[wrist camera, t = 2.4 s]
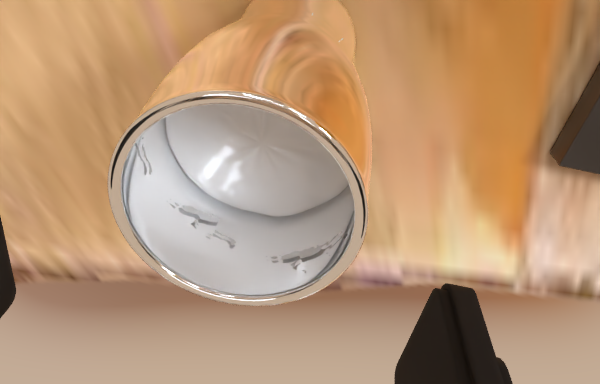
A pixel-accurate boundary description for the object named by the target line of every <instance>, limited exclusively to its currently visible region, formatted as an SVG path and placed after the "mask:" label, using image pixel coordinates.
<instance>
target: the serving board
mask: <svg viewBox="0 0 600 384" xmlns="http://www.w3.org/2000/svg"><path fill="white" fill-rule="evenodd" d="M550 154H551V155H552V156H553V158H554V159H555V160H556V162H557V163H558V165H559V166H563V167H568V168H573V169H577V170H582V171H587V172H592V173H596V174H600V64H599V66H598V68H597V70H596V72H595V73H594V75H593V77H592V79H591V80H590V82H589V84H588V86H587V88H586V89H585V91H584V93H583V95H582V96H581V98H580V100H579V102H578V104H577V105H576V107H575V109H574V111H573V112H572V114H571V116H570V118H569V119H568V121H567V123H566V125H565V127H564V128H563V130H562V132H561V134H560V135H559V137H558V139H557V141H556V143H555V144H554V146H553V148H552V150H551V151H550Z"/></svg>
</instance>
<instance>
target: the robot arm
mask: <svg viewBox="0 0 600 384" xmlns="http://www.w3.org/2000/svg"><path fill="white" fill-rule="evenodd" d="M15 294H16V287H15V282H14V277H13V273H12V268H11V263H10V259H9V254H8V250H7V245H6V240H5V236H4V231H3V226H2V222H1V217H0V318H1V317H2V315H3V314H4V313H5V312H6V311H7V309H8V308H9V307H10V305H11V304H12V302H13V300H14V298H15ZM395 384H512V381H511V378H510V375H509V372H508V369H507V367H506V365H505V363H504V362H503V361H502V360H501V359H500V358H497V357H496V356H495V352H494V349H493V346H492V343H491V340H490V337H489V334H488V331H487V327H486V324H485V321H484V318H483V315H482V311H481V308H480V305H479V302H478V299H477V296H476V293H475V291H474V290H473V289H472V288H467V287H462V286H457V285H453V284H444V285H443V286H442V288H441V289H437V288H435V289H434V290H433V291H432V293H431V295H430V297H429V299H428V301H427V303H426V305H425V307H424V309H423V311H422V313H421V316H420V318H419V320H418V322H417V324H416V326H415V328H414V330H413V332H412V334H411V336H410V338H409V340H408V343H407V345H406V347H405V349H404V351H403V353H402V355H401V357H400V359H399V361H398V363H397V366H396V370H395Z"/></svg>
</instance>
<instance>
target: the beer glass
mask: <svg viewBox="0 0 600 384" xmlns="http://www.w3.org/2000/svg"><path fill="white" fill-rule="evenodd" d="M355 50H356V35H355V30H354V26H353V23H352V20H351V18H350V15H349V14H348V12H347V10H346V9H345V7H344V6H343V4H342V3H341V2H340V1H339V0H252V1H251V2H250V4H249V5H248V7H247V8H246V10H245V12H244V13H243V16H242V18H241V19H240V20H238V21H235V22H233V23H231V24H229V25H227V26H225V27H223V28H221V29H219V30H217V31H215V32H213V33H211V34H210V35H208V36H207V37H206V38H204V39H203V40H202V41H200V42H199V43H198V44H197V45H196V46H195V47H193V48H192V49H191V50H190V51H189V52H188V53H187V54H185V55H184V56H183V57H182V58H181V59H180V60H179V61H178V63H177V64H176V65H175V66H174V67H173V68H172V70H171V71H170V72H169V73H168V74H167V75H166V77H165V78H164V79H163V80H162V81H161V83H160V84H159V85H158V87H157V88H156V90H155V91H154V93H153V94H152V95H151V97H150V98H149V100H148V101H147V103H146V104H145V106H144V107H143V109H142V110H141V112H140V113H139V115H138V117H137V118H136V119H135V120H134V121H133V122H132V123H131V124H130V126H129V127H128V128H127V129H126V130H125V132H124V133H123V135H122V136H121V138H120V139H119V141H118V143H117V145H116V147H115V149H114V152H113V154H112V157H111V161H110V165H109V171H108V194H109V201H110V205H111V209H112V212H113V215H114V218H115V220H116V222H117V225H118V227H119V229H120V231H121V232H122V234H123V236H124V237H125V239H126V240H127V242H128V243H129V245H130V246H131V247H132V249H133V250H134V251H135V252H136V253H137V254H138V256H139V257H140V258H141V259H142V260H143V261H144V262H145V263H146V264H147V265H149V266H150V267H151V268H152V269H153V270H154V271H156V272H157V273H158V274H160V275H161V276H162V277H164V278H165V279H167V280H168V281H170V282H172V283H173V284H175V285H177V286H179V287H181V288H183V289H185V290H187V291H189V292H191V293H194V294H196V295H199V296H202V297H204V298H207V299H211V300H214V301H218V302H222V303H227V304H234V305H243V306H270V305H279V304H284V303H289V302H293V301H296V300H300V299H302V298H305V297H308V296H310V295H312V294H315V293H317V292H318V291H320V290H322V289H324V288H325V287H327V286H328V285H330V284H331V283H333V282H334V281H335V280H336V279H338V278H339V277H340V276H341V275H342V274H343V273H344V272H345V271H346V270H347V269H348V267H349V266H350V265H351V264H352V262H353V261H354V259H355V258H356V256H357V254H358V253H359V251H360V249H361V246H362V244H363V241H364V238H365V235H366V230H367V225H368V196H369V187H370V177H371V164H372V130H371V121H370V115H369V108H368V102H367V98H366V94H365V91H364V88H363V85H362V83H361V80H360V78H359V75H358V73H357V71H356V68H355V66H354V65H353V60H354V56H355Z"/></svg>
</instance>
